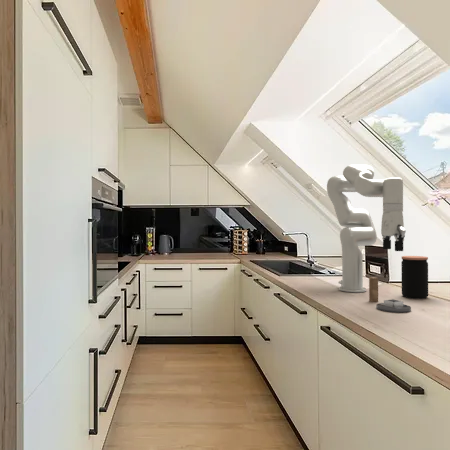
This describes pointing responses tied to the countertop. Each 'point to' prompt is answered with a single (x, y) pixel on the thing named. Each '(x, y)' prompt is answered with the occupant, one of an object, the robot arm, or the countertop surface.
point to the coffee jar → (414, 277)
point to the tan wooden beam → (373, 289)
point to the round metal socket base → (393, 306)
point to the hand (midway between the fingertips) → (392, 250)
